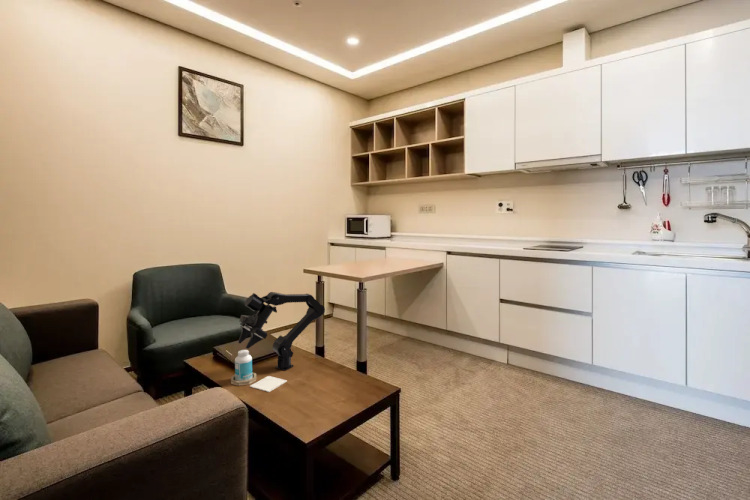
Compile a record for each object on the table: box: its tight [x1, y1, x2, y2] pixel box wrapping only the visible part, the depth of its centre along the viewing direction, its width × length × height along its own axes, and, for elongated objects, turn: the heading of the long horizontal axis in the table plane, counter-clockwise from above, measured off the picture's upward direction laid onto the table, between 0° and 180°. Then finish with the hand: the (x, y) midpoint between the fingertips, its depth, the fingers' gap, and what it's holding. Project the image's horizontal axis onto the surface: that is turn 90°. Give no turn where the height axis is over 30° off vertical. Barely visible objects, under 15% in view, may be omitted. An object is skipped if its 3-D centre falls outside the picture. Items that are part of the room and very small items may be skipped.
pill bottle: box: [234, 349, 253, 381], centre depth 170 cm, size 8×7×14 cm
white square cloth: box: [249, 375, 288, 393], centre depth 167 cm, size 12×11×1 cm
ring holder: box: [230, 371, 258, 387], centre depth 171 cm, size 11×11×2 cm
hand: (242, 345), depth 171 cm, fingers open, 9 cm apart
